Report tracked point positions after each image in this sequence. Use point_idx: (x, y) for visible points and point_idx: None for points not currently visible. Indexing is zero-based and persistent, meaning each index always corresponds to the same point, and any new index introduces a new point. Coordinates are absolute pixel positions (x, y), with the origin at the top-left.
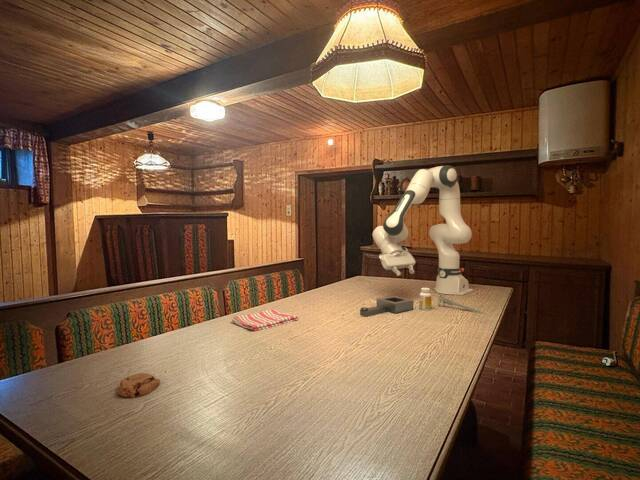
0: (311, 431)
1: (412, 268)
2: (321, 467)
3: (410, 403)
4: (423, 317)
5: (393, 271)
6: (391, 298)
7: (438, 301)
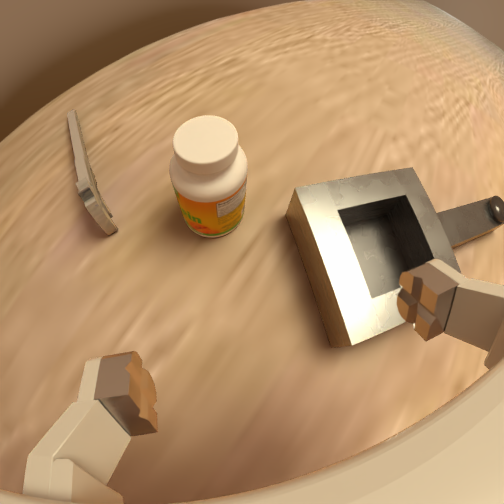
0: (475, 36)
1: (73, 411)
2: (464, 23)
3: (422, 12)
4: (303, 119)
5: (492, 334)
6: (392, 291)
7: (108, 217)
